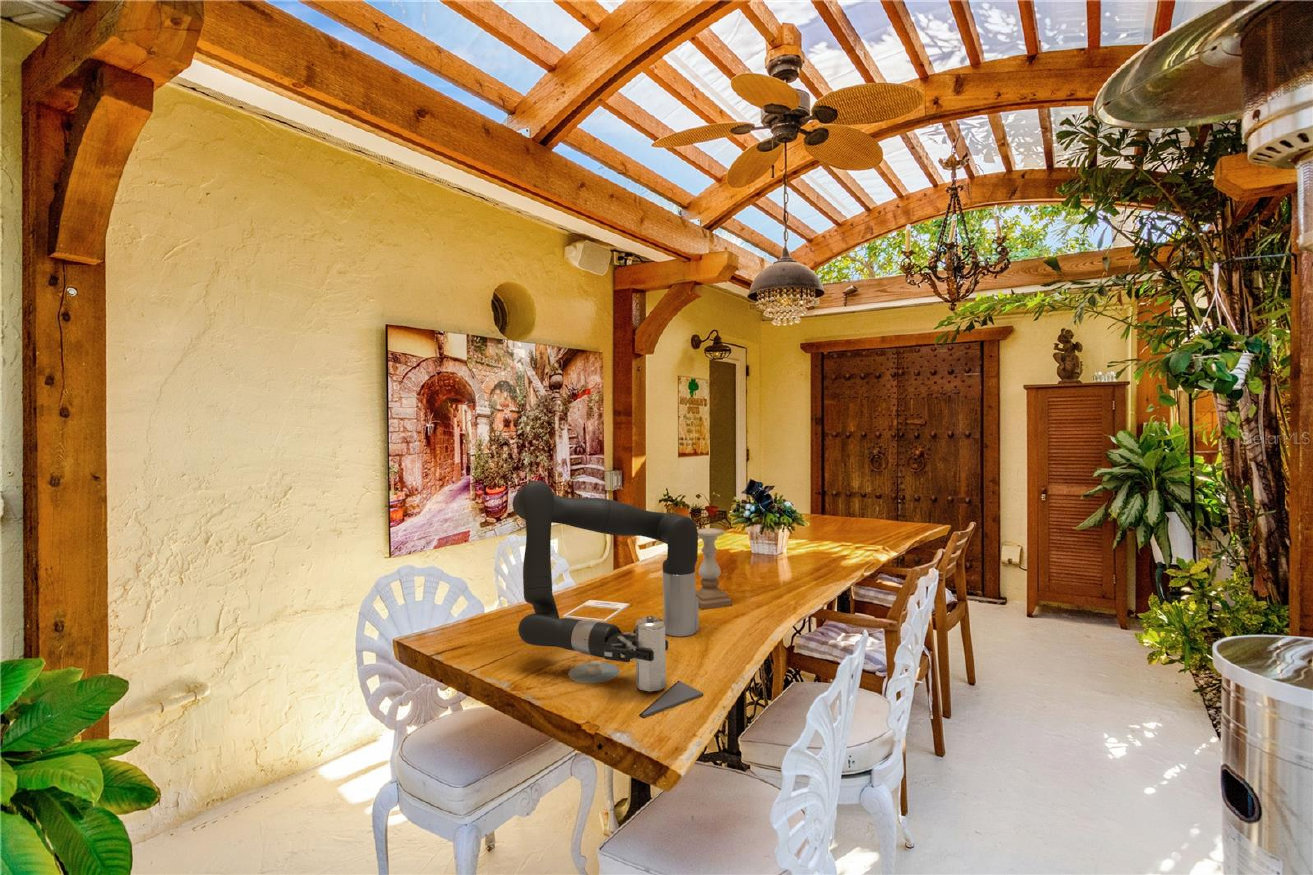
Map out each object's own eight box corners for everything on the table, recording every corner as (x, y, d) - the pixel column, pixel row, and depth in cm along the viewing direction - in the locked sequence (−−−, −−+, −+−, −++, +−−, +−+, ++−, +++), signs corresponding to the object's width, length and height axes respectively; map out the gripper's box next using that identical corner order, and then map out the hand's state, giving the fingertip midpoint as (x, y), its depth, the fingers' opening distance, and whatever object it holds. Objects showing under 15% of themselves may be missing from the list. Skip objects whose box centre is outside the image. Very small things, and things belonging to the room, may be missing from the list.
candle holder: (688, 600, 203) (686, 529, 203) (717, 596, 207) (716, 526, 207) (702, 609, 193) (700, 534, 193) (732, 605, 197) (731, 532, 197)
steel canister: (645, 677, 138) (644, 611, 137) (669, 682, 135) (668, 615, 134) (632, 687, 132) (631, 619, 132) (656, 693, 130) (655, 623, 129)
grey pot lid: (602, 662, 152) (602, 650, 152) (629, 677, 142) (629, 664, 142) (559, 674, 145) (559, 662, 145) (584, 692, 135) (584, 678, 135)
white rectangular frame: (629, 603, 200) (605, 619, 183) (629, 606, 200) (605, 623, 183) (589, 599, 205) (562, 615, 188) (589, 602, 205) (562, 618, 188)
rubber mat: (658, 672, 145) (658, 670, 145) (703, 695, 132) (703, 693, 132) (601, 691, 135) (601, 688, 135) (643, 718, 122) (643, 715, 122)
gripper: (577, 632, 134) (644, 644, 126) (612, 613, 146) (675, 623, 139) (578, 666, 134) (644, 680, 126) (613, 644, 147) (675, 656, 139)
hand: (660, 650), depth 132 cm, fingers closed on steel canister, 6 cm apart
